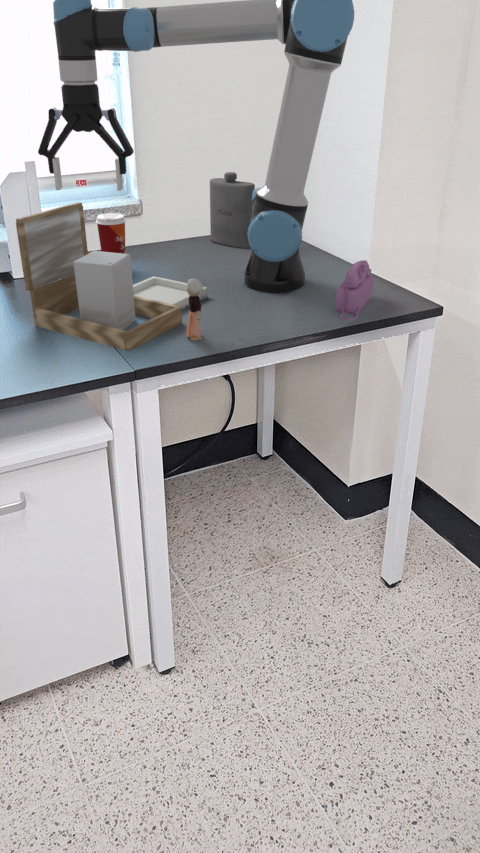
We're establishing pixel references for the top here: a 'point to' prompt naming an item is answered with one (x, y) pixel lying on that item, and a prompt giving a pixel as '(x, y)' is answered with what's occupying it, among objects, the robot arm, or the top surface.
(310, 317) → the top surface
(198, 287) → the grandmother figurine
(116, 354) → the top surface
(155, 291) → the tray
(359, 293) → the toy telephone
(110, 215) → the paper cup
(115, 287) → the supplement box
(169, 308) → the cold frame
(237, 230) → the flask
